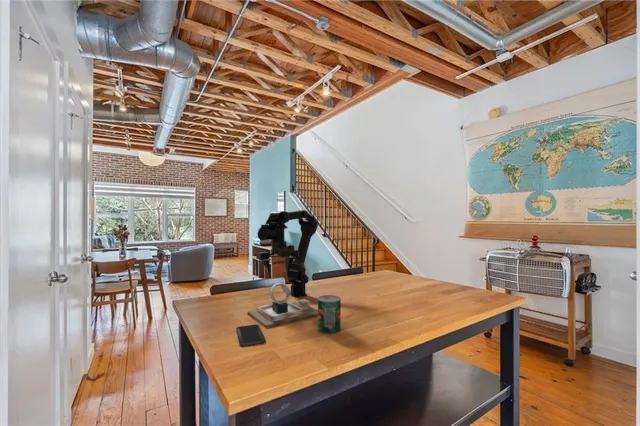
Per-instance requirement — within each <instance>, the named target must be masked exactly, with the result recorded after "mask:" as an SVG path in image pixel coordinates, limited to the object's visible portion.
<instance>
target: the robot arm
mask: <svg viewBox="0 0 640 426" xmlns="http://www.w3.org/2000/svg"><path fill="white" fill-rule="evenodd" d="M292 220H293V221H294V220H298V224H299V226H300V232H301V235H300V240H299V243H298V247H297V250H296V249H295V246H294V245H291V244H289V245H287V242H286V241H285V240H286V239H285V229H288V226H287V225H286V224H287V223H288V222H290V221H292ZM318 227H319V223H318V221H317V219H316V218H315V217H314V216H312V215H311V214H310V213H309V212H308V211H307V210H305V209H304V210H303V209H301V210H300V209H299V210H295V211H285V210H284V211H283V210H280V211H279V210H275V211H271V212H270V213H269V215H268V218H267V219H266V221H265V223H264V224H260V227H259V229H258V230H257V233H256V234H257V238H258V239H259V241H270V244H271V249H270V252H267V251H258V252H257V253H256V259H257V260H259V261H260V262H261V263H262V264H263V266H264V268H265V271H266V274H267V276H270V274H271V271H270V270H271V268H270V263H271V259H270V258H277V257H279V258H283V259H284V260H285V271H286V272H285V273H286V277H287V279H288V280H287V281H288V283H291V285H290V292H291V293H290V296H293V297H295V298H298V297H304V296H307V295H308V293H307V292H306V284H308V283H309V279H310V278H309V277H308V275H307V273H306V271H307V269H306V266H305V262H306V258H307V254H308V250H309V247H310V243H311V238H312V237H313V236H314V235H315V234H316V233H317V230H318Z"/></svg>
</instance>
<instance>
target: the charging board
mask: <svg viewBox="0 0 640 426" xmlns="http://www.w3.org/2000/svg"><path fill="white" fill-rule="evenodd" d="M285 303H287V304H288V312H286V313H280V314H277V313H276V312H274V311H273V310H272V303H271V304H266V305H261V306H260V305H259V306H257V307H256V309H254V310H249V311H247V315H248V316H249V317H250V318H252V319H254V320H255V321H256V322H257V323H259V324H260V325H261V326H262V327H264V328H266V329H269V328H274V327H277V326H281V325H285V324H286V325H287V324H289V323H295V322H299V321H303V320H308V319H311V318H316V317H317V318H318V309H316V308H314V307H312V306H311V301H310V300H308V299H306V298H303V299H298V301H296V302H290V301H288V300H287V301H286V302H285Z"/></svg>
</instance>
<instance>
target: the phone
mask: <svg viewBox="0 0 640 426" xmlns="http://www.w3.org/2000/svg"><path fill="white" fill-rule="evenodd" d="M235 331H236V335H237V339H238V344H239V346H240V347H243V348H244V347H250V346H256V345H257V346H258V345H263V344H265V343H266V337H265V336H264V334H263V331H262V329H261V326H260V325H259V324H250V325H241V326H237V327H236V329H235Z"/></svg>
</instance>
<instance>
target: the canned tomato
mask: <svg viewBox="0 0 640 426" xmlns="http://www.w3.org/2000/svg"><path fill="white" fill-rule="evenodd" d="M341 300H342V299H341V297H340V296H337V295H333V294H332V295H331V294H326V295H320V296H318V297H317V310H318V316H317V331H318V333H320V334H322V335H325V336H327V335H328V336H333V335H338V334H340V333H341V332H342V328H341V326H342V325H341V323H342V322H341V321H342V318H341V317H342V315H341V312H342V311H341V308H342V307H341V305H342V304H341Z"/></svg>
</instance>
